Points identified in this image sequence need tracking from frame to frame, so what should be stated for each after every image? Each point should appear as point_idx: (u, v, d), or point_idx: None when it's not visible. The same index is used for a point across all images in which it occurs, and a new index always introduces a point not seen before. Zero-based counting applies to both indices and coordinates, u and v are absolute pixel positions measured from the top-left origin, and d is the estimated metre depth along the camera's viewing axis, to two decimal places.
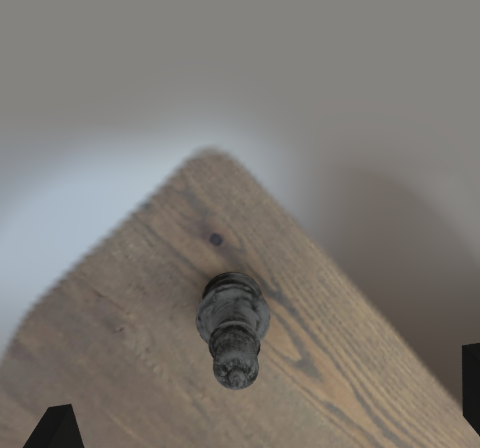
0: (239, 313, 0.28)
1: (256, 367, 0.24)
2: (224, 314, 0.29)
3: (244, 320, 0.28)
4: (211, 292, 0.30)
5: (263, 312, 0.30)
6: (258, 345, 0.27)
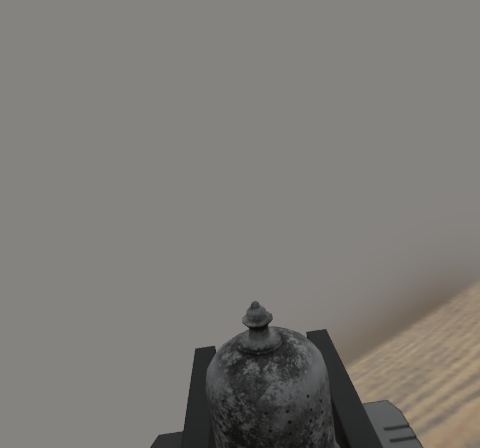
0: None
1: None
2: None
3: None
4: None
5: None
6: None
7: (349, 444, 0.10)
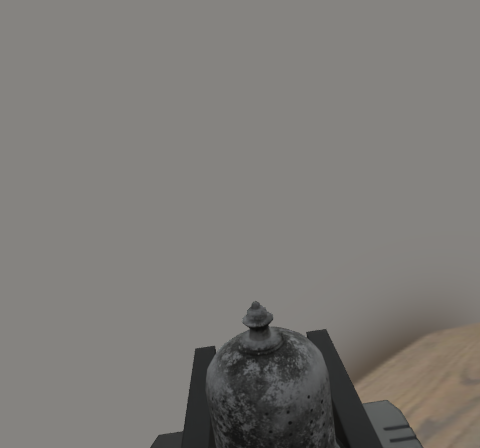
0: None
1: None
2: None
3: None
4: None
5: None
6: None
7: (349, 444, 0.10)
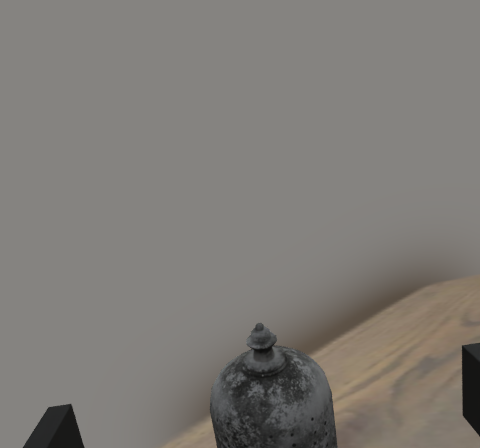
0: None
1: None
2: None
3: None
4: None
5: None
6: None
7: None
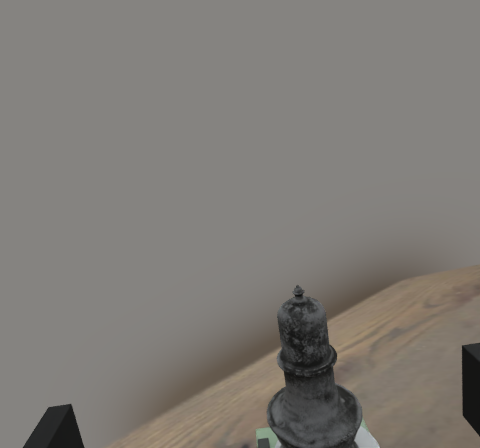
0: None
1: None
2: (288, 393, 0.23)
3: None
4: (275, 430, 0.23)
5: None
6: None
7: None
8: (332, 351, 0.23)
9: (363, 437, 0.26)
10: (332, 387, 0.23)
